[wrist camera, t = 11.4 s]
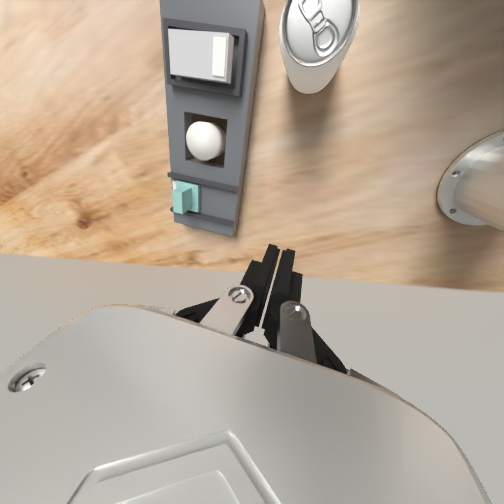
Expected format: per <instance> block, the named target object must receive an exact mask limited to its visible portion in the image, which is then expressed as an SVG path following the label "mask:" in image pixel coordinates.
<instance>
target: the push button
mask: <svg viewBox="0 0 504 504" xmlns="http://www.w3.org/2000/svg"><path fill="white" fill-rule="evenodd" d="M186 141H187V146H188V148H189V150H190V152H191V153H192V154H193V155H194V156H195V157H196V158H198V159H200V160H209V159H212V158H216V157H219V156H220V155H222V154H223V152H224V151H225V147H226V135H225V133H224V131H223V129H222V128H221V127H220V126H219V125H217V124H215V123H211V122H195V123H193V124H192V125H191V126H190V127H189V129H188V131H187V135H186Z"/></svg>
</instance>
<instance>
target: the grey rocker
mask: <svg viewBox="0 0 504 504" xmlns="http://www.w3.org/2000/svg"><path fill="white" fill-rule="evenodd" d="M168 37H169V55H170V74H172V75H175V76H178V77H185V78H192V79H199V80H206V81H214V82H221V83H228V84H231V72H232V59H233V45H234V37H233V36H232V35H231V34H229V33H222V32H207V31H193V30H179V29H168Z"/></svg>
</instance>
